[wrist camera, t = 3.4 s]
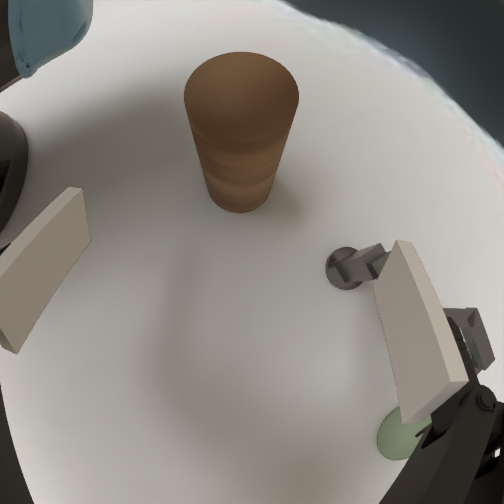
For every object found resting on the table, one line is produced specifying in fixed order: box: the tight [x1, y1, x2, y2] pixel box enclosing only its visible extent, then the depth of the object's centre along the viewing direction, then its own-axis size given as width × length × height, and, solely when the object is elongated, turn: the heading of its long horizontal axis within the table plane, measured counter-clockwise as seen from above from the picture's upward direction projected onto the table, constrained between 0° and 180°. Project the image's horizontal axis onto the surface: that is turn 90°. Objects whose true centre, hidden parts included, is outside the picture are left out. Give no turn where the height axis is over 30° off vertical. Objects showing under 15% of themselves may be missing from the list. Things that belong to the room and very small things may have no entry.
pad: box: [377, 406, 432, 460], centre depth 22 cm, size 6×6×1 cm
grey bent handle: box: [326, 243, 495, 375], centre depth 20 cm, size 15×4×7 cm, turn 55°
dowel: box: [184, 52, 299, 213], centre depth 18 cm, size 5×5×12 cm
